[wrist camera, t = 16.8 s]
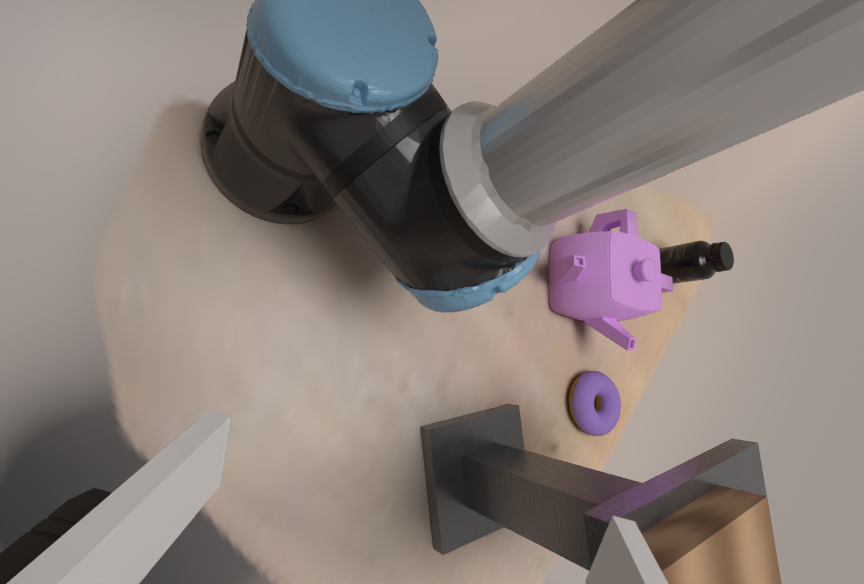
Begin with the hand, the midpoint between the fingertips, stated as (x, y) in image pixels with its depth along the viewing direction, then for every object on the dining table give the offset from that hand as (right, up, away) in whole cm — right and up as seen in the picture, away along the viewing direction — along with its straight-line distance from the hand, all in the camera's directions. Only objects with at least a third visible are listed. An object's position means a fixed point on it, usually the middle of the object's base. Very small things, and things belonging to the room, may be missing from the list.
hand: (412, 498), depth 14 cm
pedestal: (+6, -16, +40) cm, 43 cm away
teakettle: (+24, +8, +55) cm, 60 cm away
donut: (+24, -10, +53) cm, 59 cm away
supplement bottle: (+43, +11, +67) cm, 81 cm away
